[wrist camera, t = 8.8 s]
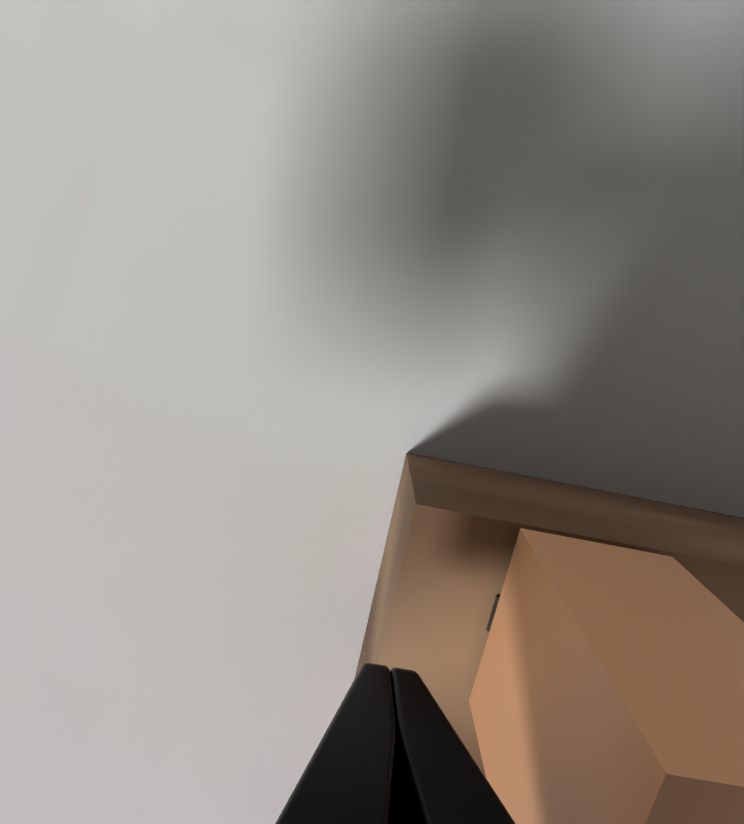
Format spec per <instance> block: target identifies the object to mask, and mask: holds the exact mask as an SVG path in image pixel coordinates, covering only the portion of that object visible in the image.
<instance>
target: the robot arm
mask: <svg viewBox="0 0 744 824" xmlns="http://www.w3.org/2000/svg"><path fill="white" fill-rule="evenodd" d="M276 824H516V823H515V822H514V820H513V819H512V817H511V816H510V814H509V813H508V811H507V810H506V808H505V807H504V805H503V803H502V802H501V800H500V799H499V797H498V796H497V794H496V793H495V791H494V790H493V788H492V786H491V785H490V783H489V782H488V780H487V779H486V777H485V776H484V774H483V773H482V771H481V770H480V768H479V766H478V765H477V763H476V762H475V760H474V759H473V757H472V756H471V754H470V753H469V751H468V750H467V748H466V746H465V745H464V743H463V742H462V740H461V739H460V737H459V736H458V734H457V733H456V731H455V730H454V728H453V726H452V725H451V723H450V722H449V720H448V719H447V717H446V716H445V714H444V713H443V711H442V710H441V708H440V706H439V705H438V703H437V702H436V700H435V699H434V697H433V696H432V694H431V693H430V691H429V690H428V688H427V686H426V685H425V683H424V682H423V680H422V679H421V677H420V676H419V674H418V673H417V672H416V671H413V670H408V669H402V668H396V667H393V668H391V670H390V669H389V668H388V667H387V666H385V665H379V664H373V663H364V664H363V665H362V667H361V669H360V670H359V672H358V674H357V676H356V678H355V680H354V681H353V683H352V685H351V687H350V689H349V691H348V692H347V694H346V696H345V698H344V700H343V701H342V703H341V705H340V707H339V709H338V711H337V712H336V714H335V716H334V718H333V720H332V722H331V723H330V725H329V727H328V729H327V731H326V732H325V734H324V736H323V738H322V740H321V742H320V743H319V745H318V747H317V749H316V751H315V752H314V754H313V756H312V758H311V760H310V762H309V763H308V765H307V767H306V769H305V771H304V773H303V774H302V776H301V778H300V780H299V782H298V783H297V785H296V787H295V789H294V791H293V793H292V794H291V796H290V798H289V800H288V802H287V804H286V805H285V807H284V809H283V811H282V813H281V814H280V816H279V818H278V820H277V822H276Z"/></svg>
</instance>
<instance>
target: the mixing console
mask: <svg viewBox="0 0 744 824" xmlns="http://www.w3.org/2000/svg"><path fill="white" fill-rule="evenodd" d="M520 528H523V529H528V530H534V531H539V532H544V533H549V534H555V535H560V536H565V537H571V538H576V539H581V540H587V541H592V542H597V543H602V544H608V545H613V546H618V547H624V548H629V549H634V550H640V551H645V552H650V553H655V554H661V555H666V556H671V557H673V558H674V559H675V560H676V561H678V562H679V563H680V564H681V565H682V566H683V567H684V568H685V569H686V570H687V571H688V572H689V573H691V574H692V575H693V576H694V577H695V578H696V579H697V580H698V581H699V582H700V583H701V584H703V585H704V586H705V587H706V588H707V589H708V590H709V591H710V592H711V593H712V594H713V595H714V596H716V597H717V598H718V599H719V600H720V601H721V602H722V603H723V604H724V605H725V606H726V607H727V608H729V609H730V610H731V611H732V612H733V613H734V614H735V615H736V616H737V617H738V618H739V619H741V620H742V621H743V622H744V518H738V517H733V516H728V515H723V514H718V513H713V512H707V511H702V510H697V509H692V508H687V507H682V506H676V505H671V504H666V503H661V502H656V501H650V500H645V499H640V498H635V497H630V496H625V495H619V494H614V493H609V492H604V491H599V490H594V489H588V488H583V487H578V486H573V485H568V484H563V483H557V482H552V481H547V480H542V479H537V478H532V477H526V476H521V475H516V474H511V473H506V472H501V471H495V470H490V469H485V468H480V467H475V466H470V465H464V464H459V463H454V462H449V461H444V460H438V459H433V458H428V457H423V456H418V455H413V454H407V453H406V458H405V462H404V467H403V471H402V475H401V480H400V484H399V488H398V493H397V497H396V501H395V506H394V510H393V515H392V519H391V523H390V528H389V532H388V536H387V541H386V545H385V549H384V554H383V558H382V563H381V567H380V571H379V576H378V580H377V584H376V589H375V593H374V597H373V602H372V606H371V611H370V615H369V619H368V624H367V628H366V632H365V637H364V641H363V646H362V650H361V654H360V659H359V663H358V667H357V672H356V676H357V674H358V672H359V670H360V669H361V667H362V665H363V664H364V663H373V664H379V665H385V666H387V667H388V668H389V669H390V670H391V668H393V667H396V668H402V669H408V670H413V671H416V672H417V673H418V674H419V676H420V677H421V679H422V680H423V682H424V683H425V685H426V686H427V688H428V690H429V691H430V693H431V694H432V696H433V697H434V699H435V700H436V702H437V703H438V705H439V706H440V708H441V710H442V711H443V713H444V714H445V716H446V717H447V719H448V720H449V722H450V723H451V725H452V726H453V728H454V730H455V731H456V733H457V734H458V736H459V737H460V739H461V740H462V742H463V743H464V745H465V746H466V748H467V750H468V751H469V753H470V754H471V756H472V757H473V759H474V760H475V762H476V763H477V765H478V766H479V768H480V770H481V771H482V773H483V774H484V776H485V777H486V775H485V770H484V766H483V761H482V757H481V752H480V748H479V743H478V739H477V735H476V730H475V726H474V721H473V717H472V712H471V708H470V703H469V699H470V696H471V692H472V689H473V686H474V682H475V679H476V675H477V672H478V669H479V665H480V662H481V659H482V655H483V652H484V649H485V645H486V642H487V638H488V635H489V632H490V628H491V625H492V622H493V618H494V615H495V612H496V608H497V605H498V602H499V598H500V595H501V591H502V588H503V585H504V581H505V578H506V575H507V571H508V568H509V565H510V561H511V558H512V554H513V551H514V548H515V544H516V541H517V538H518V534H519V531H520ZM356 676H355V678H356Z"/></svg>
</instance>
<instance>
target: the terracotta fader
mask: <svg viewBox="0 0 744 824" xmlns="http://www.w3.org/2000/svg"><path fill="white" fill-rule="evenodd" d="M469 703H470V708H471V712H472V717H473V721H474V726H475V730H476V735H477V739H478V743H479V748H480V752H481V757H482V761H483V766H484V770H485V775H486V779H487V780H488V782H489V783H490V785H491V786H492V788H493V790H494V791H495V793H496V794H497V796H498V797H499V799H500V800H501V802H502V803H503V805H504V807H505V808H506V810H507V811H508V813H509V814H510V816H511V817H512V819H513V820H514V822H515V823H516V824H744V622H743V621H742V620H741V619H739V618H738V617H737V616H736V615H735V614H734V613H733V612H732V611H731V610H730V609H729V608H727V607H726V606H725V605H724V604H723V603H722V602H721V601H720V600H719V599H718V598H717V597H716V596H714V595H713V594H712V593H711V592H710V591H709V590H708V589H707V588H706V587H705V586H704V585H703V584H701V583H700V582H699V581H698V580H697V579H696V578H695V577H694V576H693V575H692V574H691V573H689V572H688V571H687V570H686V569H685V568H684V567H683V566H682V565H681V564H680V563H679V562H678V561H676V560H675V559H674V558H673V557H671V556H666V555H661V554H655V553H650V552H645V551H640V550H634V549H629V548H624V547H618V546H613V545H608V544H602V543H597V542H592V541H587V540H581V539H576V538H571V537H565V536H560V535H555V534H549V533H544V532H539V531H534V530H528V529H523V528H520V531H519V534H518V538H517V541H516V544H515V548H514V551H513V554H512V558H511V561H510V565H509V568H508V571H507V575H506V578H505V581H504V585H503V588H502V591H501V595H500V598H499V602H498V605H497V608H496V612H495V615H494V618H493V622H492V625H491V628H490V632H489V635H488V638H487V642H486V645H485V649H484V652H483V655H482V659H481V662H480V665H479V669H478V672H477V675H476V679H475V682H474V686H473V689H472V692H471V696H470V699H469Z"/></svg>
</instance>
